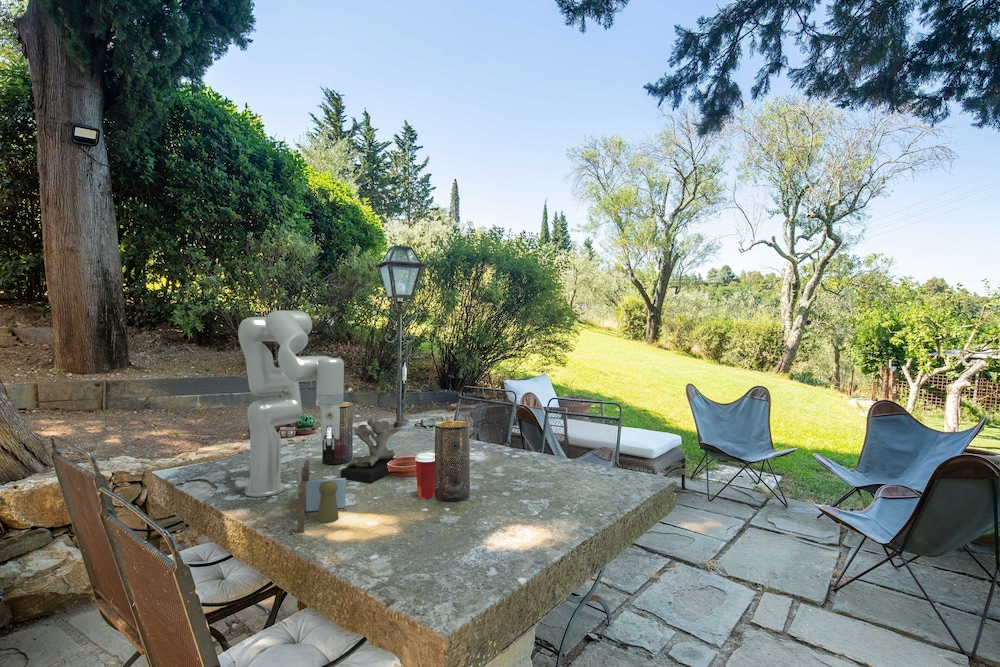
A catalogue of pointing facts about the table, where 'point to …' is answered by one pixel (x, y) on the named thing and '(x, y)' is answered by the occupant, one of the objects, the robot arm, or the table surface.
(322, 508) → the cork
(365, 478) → the coral
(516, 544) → the table surface
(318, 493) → the door
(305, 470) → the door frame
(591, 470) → the table surface
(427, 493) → the paper cup
